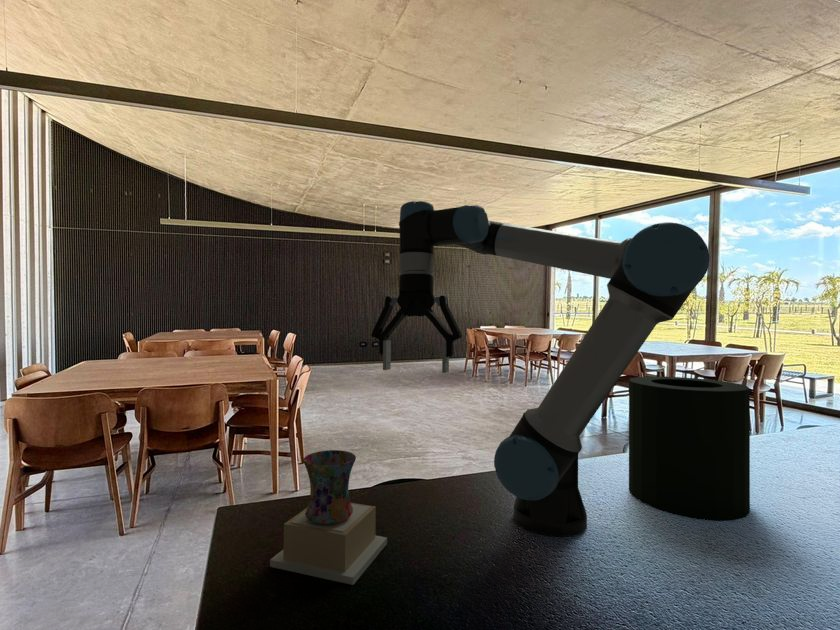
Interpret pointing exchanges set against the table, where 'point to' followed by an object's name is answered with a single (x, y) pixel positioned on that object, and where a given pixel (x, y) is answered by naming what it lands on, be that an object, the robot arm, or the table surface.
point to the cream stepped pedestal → (331, 546)
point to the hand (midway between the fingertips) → (415, 371)
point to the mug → (329, 486)
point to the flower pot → (690, 446)
